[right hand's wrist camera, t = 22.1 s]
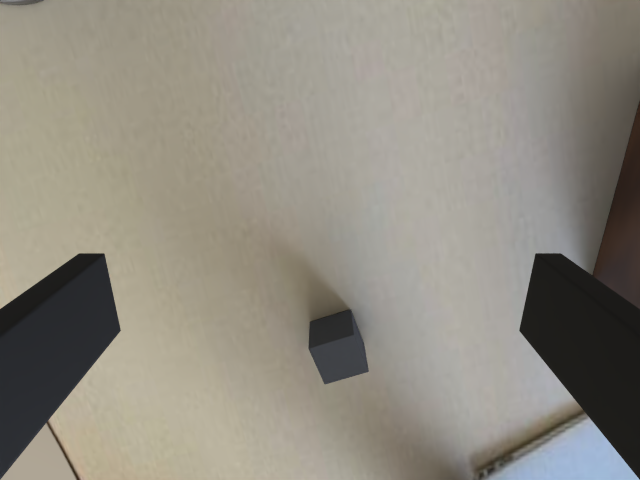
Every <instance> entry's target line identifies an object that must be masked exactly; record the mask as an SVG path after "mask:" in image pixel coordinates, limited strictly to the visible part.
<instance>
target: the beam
mask: <svg viewBox="0 0 640 480" xmlns="http://www.w3.org/2000/svg"><path fill="white" fill-rule="evenodd" d="M593 277H595V278H596V279H598V280H599V281H601V282H602V283H603V284H605V285H606V286H608V287H609V288H610V289H612V290H613V291H615V292H616V293H618V294H619V295H620V296H622V297H623V298H625V299H626V300H627V301H629V302H630V303H632V304H633V305H635V306H636V307H637V308H639V309H640V103H639V106H638V110H637V114H636V117H635V121H634V125H633V128H632V132H631V136H630V140H629V143H628V147H627V151H626V154H625V158H624V162H623V165H622V169H621V173H620V177H619V180H618V184H617V188H616V191H615V195H614V199H613V202H612V206H611V210H610V213H609V217H608V221H607V225H606V228H605V232H604V236H603V239H602V243H601V247H600V250H599V254H598V258H597V262H596V265H595V269H594V273H593Z"/></svg>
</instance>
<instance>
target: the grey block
mask: <svg viewBox="0 0 640 480" xmlns="http://www.w3.org/2000/svg"><path fill="white" fill-rule="evenodd" d="M309 350H310V353H311V355H312V357H313V359H314V362H315V364H316V366H317V368H318V371H319V373H320V375H321V377H322V379H323V382H324V384H328V383H331V382H335V381H338V380H342V379H345V378H349V377H352V376H355V375H359V374H362V373H366V372H368V371H369V370H368V364H367V358H366V353H365V347H364V342H363V340H362V337H361V335H360V332H359V329H358V327H357V324H356V322H355V319H354V316H353V314H352V311H351V309H350V310H347V311H344V312H340V313H337V314H334V315H331V316H328V317H324V318H321V319H318V320H315V321H312V322H310V329H309Z"/></svg>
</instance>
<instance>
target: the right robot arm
mask: <svg viewBox="0 0 640 480" xmlns="http://www.w3.org/2000/svg"><path fill="white" fill-rule="evenodd" d="M40 1H43V0H0V3H1V4H8V5H27V4H33V3H37V2H40ZM120 331H121V330H120V325H119V321H118V316H117V311H116V306H115V302H114V297H113V292H112V287H111V283H110V278H109V273H108V268H107V264H106V259H105V254H78V255H76V256H75V257H74V258H72V259H71V260H69V261H68V262H66V263H65V264H64V265H62V266H61V267H59V268H58V269H57V270H55V271H54V272H52V273H51V274H49V275H48V276H47V277H45V278H44V279H42V280H41V281H39V282H38V283H37V284H35V285H34V286H32V287H31V288H30V289H28V290H27V291H25V292H24V293H22V294H21V295H20V296H18V297H17V298H15V299H14V300H13V301H11V302H10V303H8V304H7V305H5V306H4V307H3V308H1V309H0V479H1V478H2V477H3V475H4V474H5V473H6V472H7V471H8V469H9V468H10V467H11V466H12V464H13V463H14V462H15V461H16V459H17V458H18V457H19V456H20V454H21V453H22V452H23V451H24V450H25V448H26V447H27V446H28V445H29V443H30V442H31V441H32V440H33V438H34V437H35V436H36V435H37V433H38V432H39V431H40V430H41V428H42V427H43V426H44V425H45V424H46V422H47V421H48V420H49V419H50V417H51V416H52V415H53V414H54V412H55V411H56V410H57V409H58V407H59V406H60V405H61V404H62V403H63V401H64V400H65V399H66V398H67V396H68V395H69V394H70V393H71V391H72V390H73V389H74V388H75V386H76V385H77V384H78V383H79V381H80V380H81V379H82V378H83V377H84V375H85V374H86V373H87V372H88V370H89V369H90V368H91V367H92V365H93V364H94V363H95V362H96V360H97V359H98V358H99V357H100V356H101V354H102V353H103V352H104V351H105V349H106V348H107V347H108V346H109V344H110V343H111V342H112V341H113V339H114V338H115V337H116V336H117V334H118V333H119V332H120ZM519 331H520V332H521V333H522V334H523V336H524V337H525V338H526V339H527V341H528V342H529V343H530V344H531V346H532V347H533V348H534V349H535V351H536V352H537V353H538V354H539V356H540V357H541V358H542V359H543V360H544V362H545V363H546V364H547V365H548V367H549V368H550V369H551V370H552V372H553V373H554V374H555V375H556V377H557V378H558V379H559V380H560V381H561V383H562V384H563V385H564V386H565V388H566V389H567V390H568V391H569V393H570V394H571V395H572V396H573V398H574V399H575V400H576V401H577V403H578V404H579V405H580V406H581V407H582V409H583V410H584V411H585V412H586V414H587V415H588V416H589V417H590V419H591V420H592V421H593V422H594V424H595V425H596V426H597V427H598V428H599V430H600V431H601V432H602V433H603V435H604V436H605V437H606V438H607V440H608V441H609V442H610V443H611V445H612V446H613V447H614V448H615V450H616V451H617V452H618V453H619V454H620V456H621V457H622V458H623V459H624V461H625V462H626V463H627V464H628V466H629V467H630V468H631V469H632V471H633V472H634V473H635V474H636V475H637V477H638V478H639V479H640V309H639V308H637V307H636V306H635V305H633V304H632V303H630V302H629V301H627V300H626V299H625V298H623V297H622V296H620V295H619V294H618V293H616V292H615V291H613V290H612V289H610V288H609V287H608V286H606V285H605V284H603V283H602V282H601V281H599V280H598V279H596V278H595V277H593V276H592V275H591V274H589V273H588V272H586V271H585V270H583V269H582V268H581V267H579V266H578V265H576V264H575V263H574V262H572V261H571V260H569V259H568V258H566V257H565V256H564V255H562V254H535V259H534V264H533V268H532V273H531V278H530V283H529V287H528V292H527V297H526V302H525V306H524V311H523V316H522V321H521V325H520V330H519Z"/></svg>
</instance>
